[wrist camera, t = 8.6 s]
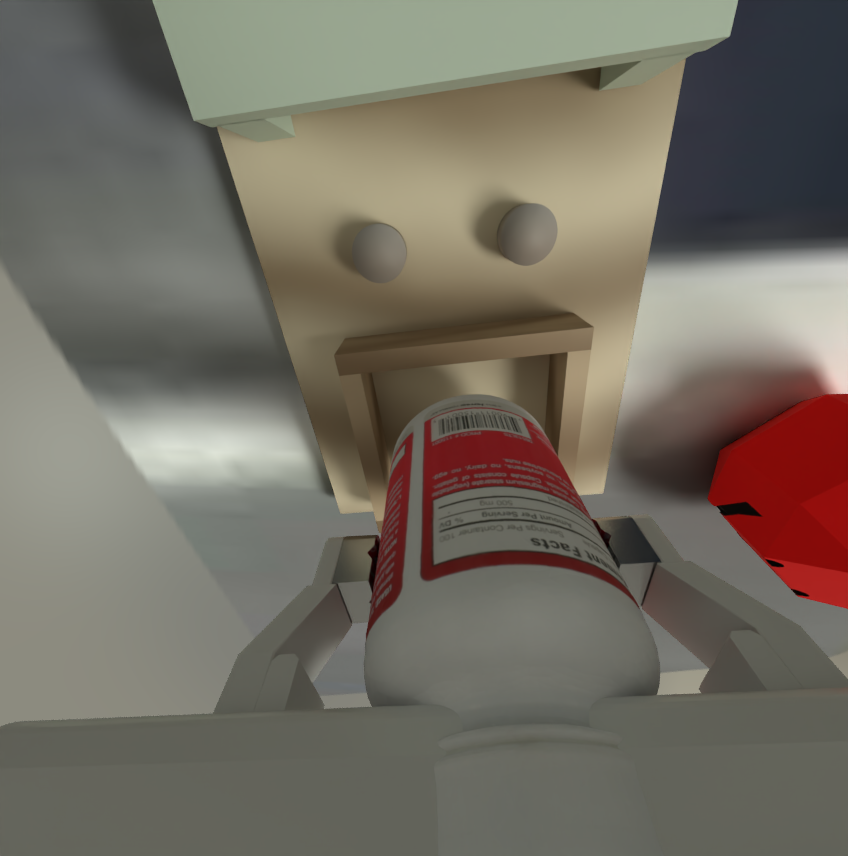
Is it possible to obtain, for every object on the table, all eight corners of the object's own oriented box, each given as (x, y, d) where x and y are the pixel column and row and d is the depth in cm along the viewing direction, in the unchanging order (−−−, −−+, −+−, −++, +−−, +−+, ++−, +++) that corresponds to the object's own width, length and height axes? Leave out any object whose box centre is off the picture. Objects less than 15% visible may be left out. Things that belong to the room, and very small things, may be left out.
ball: (662, 451, 19) (788, 579, 12) (834, 342, 16) (1122, 436, 9) (729, 526, 22) (859, 663, 15) (885, 446, 18) (1134, 574, 12)
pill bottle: (452, 532, 17) (483, 948, 7) (361, 447, 14) (229, 906, 5) (574, 466, 15) (837, 929, 5) (492, 354, 12) (704, 838, 3)
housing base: (153, -133, 9) (39, -276, 7) (716, -252, 8) (856, -474, 6) (345, 498, 21) (332, 542, 18) (594, 478, 20) (620, 521, 17)
